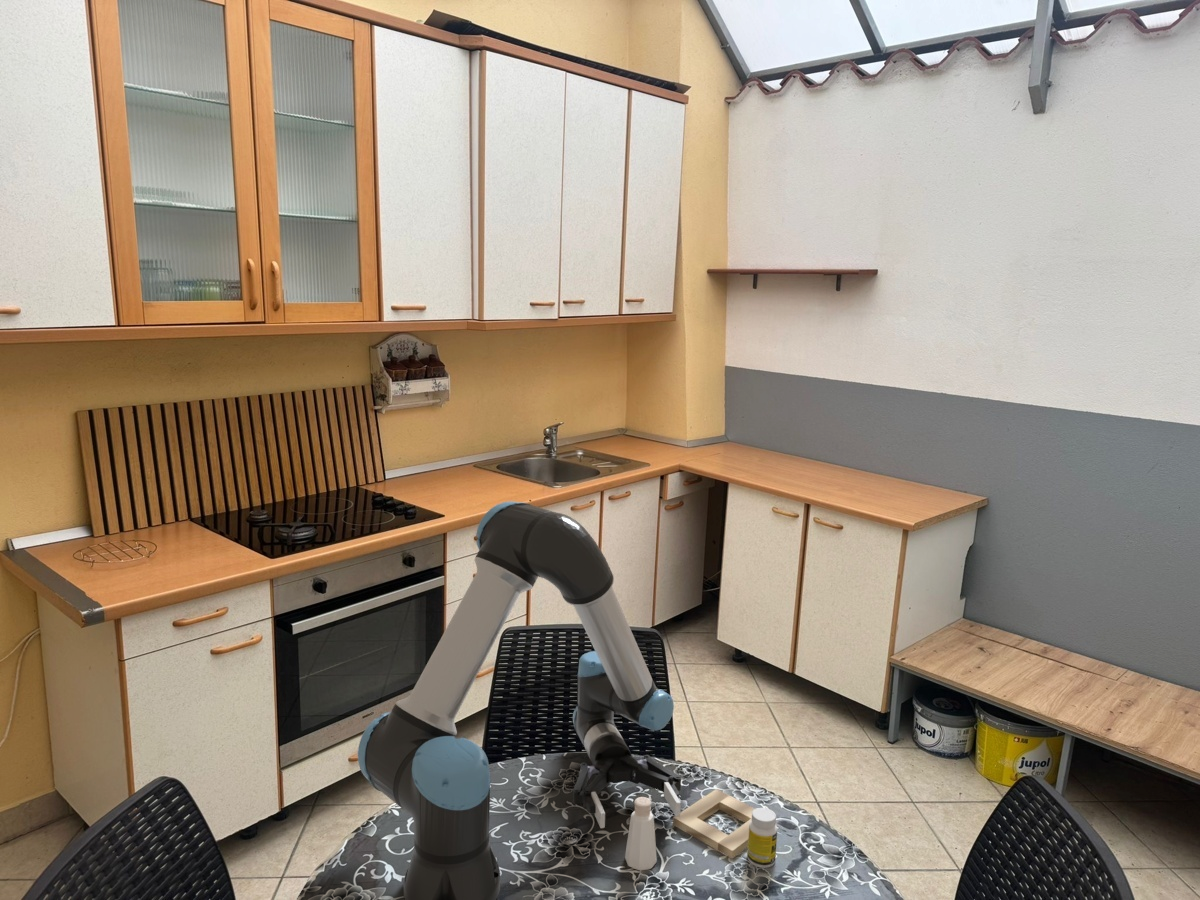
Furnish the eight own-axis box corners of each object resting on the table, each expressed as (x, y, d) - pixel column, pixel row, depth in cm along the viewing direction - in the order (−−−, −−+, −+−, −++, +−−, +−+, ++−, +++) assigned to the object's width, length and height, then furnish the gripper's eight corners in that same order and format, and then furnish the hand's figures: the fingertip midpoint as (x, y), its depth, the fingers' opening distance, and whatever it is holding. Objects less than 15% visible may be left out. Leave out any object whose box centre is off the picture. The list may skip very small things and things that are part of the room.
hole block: (672, 824, 149) (673, 817, 149) (716, 796, 159) (716, 788, 158) (732, 858, 141) (732, 850, 140) (774, 826, 150) (774, 818, 149)
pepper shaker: (655, 873, 137) (657, 812, 135) (622, 868, 137) (624, 808, 136) (658, 852, 142) (660, 793, 140) (626, 848, 143) (628, 789, 141)
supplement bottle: (775, 870, 138) (778, 824, 136) (746, 866, 139) (749, 820, 137) (775, 852, 142) (778, 808, 141) (747, 848, 143) (750, 804, 142)
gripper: (667, 761, 166) (708, 825, 145) (544, 777, 159) (569, 845, 139) (668, 726, 164) (710, 785, 144) (545, 740, 158) (570, 804, 138)
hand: (641, 815), depth 141 cm, fingers open, 13 cm apart
